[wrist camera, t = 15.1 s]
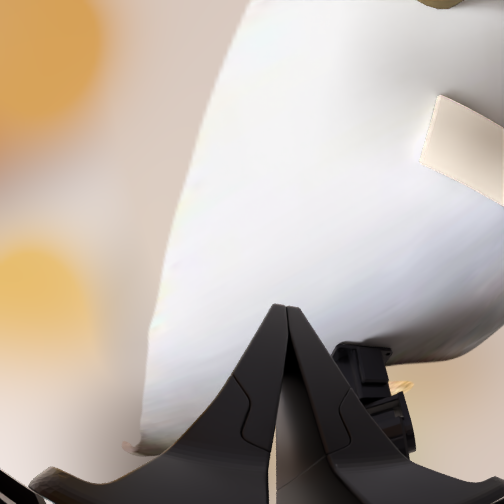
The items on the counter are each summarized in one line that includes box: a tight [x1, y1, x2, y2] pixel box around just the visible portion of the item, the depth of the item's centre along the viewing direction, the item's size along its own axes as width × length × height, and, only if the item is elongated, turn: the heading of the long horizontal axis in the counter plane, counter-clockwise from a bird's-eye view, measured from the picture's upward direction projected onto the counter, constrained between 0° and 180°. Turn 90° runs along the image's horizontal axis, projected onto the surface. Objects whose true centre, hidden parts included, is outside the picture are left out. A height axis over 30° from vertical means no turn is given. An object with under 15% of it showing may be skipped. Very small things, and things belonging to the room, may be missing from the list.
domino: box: [419, 95, 504, 207], centre depth 14 cm, size 2×5×8 cm
